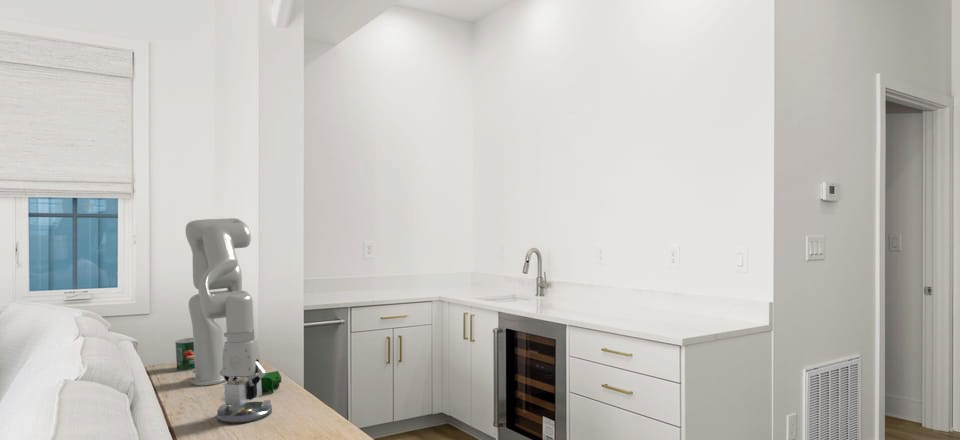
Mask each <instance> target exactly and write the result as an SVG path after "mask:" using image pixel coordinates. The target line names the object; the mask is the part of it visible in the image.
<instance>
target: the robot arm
mask: <svg viewBox="0 0 960 440" xmlns="http://www.w3.org/2000/svg"><path fill="white" fill-rule="evenodd" d="M251 235H252V234H251V231H250V229H249V226H248V225H247V224H246V223H245V222H244V221H242V220H240V219H239V218H234V217H231V218H230V217H229V218H207V219H206V218H205V219H204V218H203V219H195V220H191V221H189V222H188V223H186V226H185V237H186V240H187V243H188V244H189V246H190V249H191V254H192V281H193V286H194V288H195V289H197V290H198V293H196V294H194V295H193V296H191V297H190V298H189V301H188V311H189V315H190V321H191V326H192V338H193V341H194V358H195V369H193V370H191V371H192V373H193V374H194V377H193V378H191V379H190V384H191V385H193V386H198V387H200V386H201V387H202V386H210V385H211V386H212V385H217V384H221V383H225V382H226V383H228V382H231V381H233V380H235V379H237V378H240V377H247V378H248V381H249V385H250V386H248V399H249V400H251V401H253V400H254V399H253V398H255V397H257V383H258V382H259V381H260V380H261V378H262V377H263V376H264V375H266V373H267V372H266V371H265V369H264V368H263V366H262V364H261V358H260V357H261V355H260V350H259V346H258V342H257V340H256V338H255V325H254V321H255V320H254V304H253V302H254V301H253V297H252V295H251V294H250V293H249V292H248V291H247V290H243V276H242V274H243V273H242V269H241V266H240V264H239V263H238V258H237V257H238V256H237V255H236V251H235V250H236V249H245V248H248V247H249V246H250V244H251V241H252V240H251V239H252V238H251V237H252V236H251ZM221 289H226V290H221ZM212 290H214V291H212ZM215 290H217V291H215ZM222 318H225V326H226V332H224V334H223V330H222V328H221V326H220V324H218V323H217V322H215V320H217V319H222ZM224 337H225V338H226V341H225V342H224V341H223V340H224ZM257 374H258V376H257ZM252 378H253V379H252ZM257 398H258V397H257ZM252 399H253V400H252ZM255 399H256V398H255Z"/></svg>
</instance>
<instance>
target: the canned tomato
mask: <svg viewBox="0 0 960 440" xmlns="http://www.w3.org/2000/svg"><path fill="white" fill-rule="evenodd" d="M175 357H176V359H175V360H176V361H175V362H176V371H177V372H187V371H193V369H195V358H194V341H193V337H187V338H181V339H177V340H176V341H175Z"/></svg>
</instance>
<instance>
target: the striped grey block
mask: <svg viewBox="0 0 960 440" xmlns="http://www.w3.org/2000/svg"><path fill="white" fill-rule="evenodd" d="M256 375H257V374H256ZM257 376H258V375H257ZM252 379H253V378H252ZM248 386H250V385H249V381H248V378H247V377H238V378H237V379H235V380H233V381H231V382H225V383H224V387H223V388H224V402H225V405H229V406H232V405H234V406H241V405H243V404H245V403H247V402H252V401H253V400H255V399H256V398H258V397H260V396H262V395H263V392H262V387H261V380H260V381H259V382H258V383H257V397H255V398H253V399H252V400H249V399H248Z"/></svg>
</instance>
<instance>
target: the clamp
mask: <svg viewBox="0 0 960 440" xmlns="http://www.w3.org/2000/svg"><path fill="white" fill-rule="evenodd" d="M258 374H259V373H256V375H258ZM281 383H282V375H281V374H280V372H279V371H278V370H274V371H271V372H266V375H264V376H263V377H262V378H261V387H262V393H263V392H268V391H269V392H271V394H274V392H275V391H274V390H277V389H278V388H280V384H281Z"/></svg>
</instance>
